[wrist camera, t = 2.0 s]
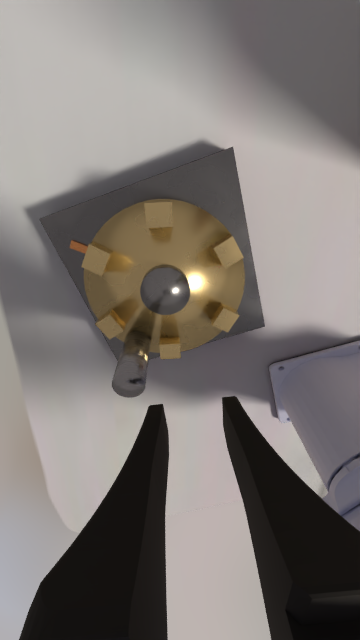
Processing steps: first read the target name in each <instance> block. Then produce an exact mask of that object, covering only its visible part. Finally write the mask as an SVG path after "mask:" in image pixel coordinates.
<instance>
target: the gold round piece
mask: <svg viewBox="0 0 360 640" xmlns="http://www.w3.org/2000/svg"><path fill="white" fill-rule="evenodd" d="M243 258H244V257H243V255H242V253H241V251H240V249H239V247H238V245H237V243H236V241H235V240H234V238H233V236H232V235H231V233H230V232H229V231H228V230H227V229H226V227H225V226H224V225H223V224H222V223H221V222H220V221H219V220H217V219H216V218H215V217H214V216H212V215H211V214H209V213H208V212H206V211H205V210H203V209H202V208H199V207H197V206H195V205H193V204H191V203H188V202H184V201H181V200H175V199H152V200H147V201H143V202H139V203H137V204H134V205H132V206H130V207H128V208H125V209H123V210H122V211H120V212H119V213H117V214H115V215H114V216H113V217H112V218H110V219H109V220H108V221H107V222H106V223H105V224H104V225H103V226H102V227H101V229H100V230H99V231H98V232H97V234H96V235H95V237H94V239H93V240H92V242H91V243H90V244H89V245H88V248H87V251H86V254H85V257H84V260H83V263H82V266H81V267H83V268H84V286H85V291H86V295H87V298H88V302H89V304H90V306H91V308H92V310H93V312H94V314H95V315H96V317H97V318H98V320H97V321H96V323H95V325H96V326H97V327H98V328H99V329H100V330H101V331H102V332H103V333H104V334H105V335H106V336H107V337H108V338H109V340H110V339H111V338H113V337H117V338H118V339H119V340H121V341H123V342H124V344H123V347H122V351H121V354H120V357H119V361H118V364H117V367H116V371H115V374H114V377H113V381H112V387H113V390H114V391H115V392H116V393H117V394H119V395H121V396H123V397H136V396H138V395H140V394H141V393H142V392H143V391H144V389H145V383H146V375H147V367H148V359H149V352H155V353H160V359H174V358H181V354H180V352H182V351H187V350H190V349H193V348H196V347H198V346H201V345H203V344H205V343H206V342H208V341H210V340H211V339H213V338H214V337H215V336H217V335H218V334H219V333H220V332H221V331H222V330H223V331H225V332H229V330H230V329H231V327H232V326H233V324H234V323H235V321H236V320H237V319H238V317H239V316H240V315H239V314H238V312H237V310H238V307H239V305H240V303H241V299H242V296H243V292H244V285H245V270H244V263H243Z"/></svg>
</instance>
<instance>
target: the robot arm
mask: <svg viewBox="0 0 360 640" xmlns="http://www.w3.org/2000/svg"><path fill="white" fill-rule="evenodd" d="M359 346H360V340H359V341H356V342H352V343H348V344H344V345H341V346H337V347H333V348H330V349H326V350H322V351H318V352H315V353H311V354H307V355H303V356H300V357H296V358H292V359H288V360H285V361H281V362H277V363H273V364H271V365H270V367H269V372H270V377H271V383H272V388H273V393H274V399H275V404H276V409H277V415H278V419H279V421H280V422H281V423H287V422H292V424H293V426H294V428H295V430H296V432H297V434H298V435H299V437H300V439H301V441H302V443H303V445H304V447H305V449H306V451H307V453H308V455H309V456H310V458H311V460H312V462H313V464H314V466H315V468H316V470H317V472H318V474H319V476H320V477H321V479H322V481H323V483H324V485H325V487H326V489H327V491H328V494H327V495H326V496H325V497H323V498H321V497H319V496H318V495H317V494H316V493H315V492H314V491H313V490H312V489H311V488H310V487H309V486H308V485H307V484H305V482H304V481H303V480H302V479H301V478H300V477H299V476H298V475H297V474H296V473H295V472H294V471H293V470H292V469H291V468H290V467H289V466H288V465H287V464H286V463H285V462H284V461H283V460H282V458H281V457H280V456H279V455H278V454H277V453H276V452H275V450H274V449H273V448H272V447H271V446H270V444H269V443H268V442H267V441H266V439H265V438H264V437H263V436H262V434H261V433H260V432H259V430H258V429H257V428H256V426H255V425H254V424H253V422H252V421H251V419H250V418H249V416H248V415H247V413H246V412H245V410H244V409H243V407H242V406H241V404H240V402H239V400H238V398H237V397H235V396H232V397H223V398H222V404H223V427H224V432H225V438H226V443H227V448H228V451H229V455H230V458H231V462H232V465H233V468H234V472H235V475H236V479H237V482H238V485H239V489H240V492H241V495H242V499H243V502H244V507H245V511H246V515H247V520H248V525H249V529H250V534H251V539H252V544H253V548H254V553H255V558H256V563H257V568H258V573H259V578H260V583H261V588H262V593H263V598H264V603H265V608H266V613H267V619H268V624H269V628H270V634H271V640H360V347H359ZM281 366H282V367H281ZM279 367H281V368H279ZM168 461H169V438H168V428H167V423H166V418H165V413H164V408H163V404H158V405H150V406H149V407H148V410H147V413H146V416H145V419H144V422H143V425H142V427H141V430H140V432H139V434H138V437H137V439H136V441H135V443H134V446H133V448H132V450H131V452H130V454H129V456H128V458H127V460H126V462H125V464H124V466H123V467H122V469H121V471H120V473H119V475H118V477H117V478H116V480H115V482H114V483H113V485H112V487H111V488H110V490H109V492H108V493H107V495H106V496H105V498H104V499H103V501H102V503H101V504H100V506H99V507H98V509H97V510H96V512H95V513H94V515H93V516H92V517H91V519H90V520H89V522H88V523H87V524H86V526H85V527H84V528H83V530H82V531H81V532H80V534H79V535H78V537H77V538H76V539H75V541H74V542H73V543H72V545H71V546H70V547H69V548H68V550H67V551H66V552H65V553H64V555H63V556H62V557H61V558H60V560H59V561H58V562H57V563H56V564H55V566H54V567H53V568H52V570H51V571H50V572H49V573H48V574H47V575H46V577H45V578H44V579H43V581H42V582H41V583H40V586H39V588H38V590H37V593H36V595H35V598H34V600H33V602H32V604H31V607H30V609H29V612H28V615H27V618H26V621H25V624H24V627H23V630H22V633H21V636H20V639H19V640H167V606H166V559H165V505H166V491H167V476H168Z"/></svg>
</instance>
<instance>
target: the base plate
mask: <svg viewBox="0 0 360 640" xmlns="http://www.w3.org/2000/svg"><path fill="white" fill-rule="evenodd" d="M152 199H175V200H181V201H184V202H188V203H191V204H193V205H195V206H197V207H199V208H202V209H203V210H205V211H206V212H208V213H209V214H211V215H212V216H214V217H215V218H216V219H217V220H219V221H220V222H221V223H222V224H223V225H224V226H225V227H226V229H227V230H228V231H229V232H230V233H231V235H232V236H233V238H234V240H235V241H236V243H237V245H238V247H239V249H240V251H241V253H242V255H243V257H244V258H243V263H244V270H245V285H244V292H243V296H242V299H241V303H240V305H239V307H238V310H237V312H238V314H239V315H240V316H239V317H238V319H237V320H236V321H235V323H234V324H233V326H232V327H231V329H230V330H229V332H225V331H223V330H222V331H221V332H220V333H219V334H218V335H217V336H215V337H214V338H213V339H211V340H210V341H208V342H206V343H209V342H212V341H216V340H219V339H223V338H226V337H230V336H233V335H237V334H240V333H244V332H247V331H251V330H254V329H258V328H261V327H265V324H264V319H263V313H262V307H261V302H260V296H259V291H258V285H257V279H256V274H255V268H254V262H253V257H252V251H251V246H250V240H249V234H248V229H247V223H246V217H245V212H244V206H243V201H242V195H241V189H240V184H239V178H238V172H237V167H236V161H235V156H234V150H233V147H231V148H228V149H226V150H223V151H220V152H218V153H215V154H212V155H209V156H207V157H204V158H201V159H199V160H196V161H193V162H191V163H188V164H185V165H183V166H180V167H177V168H175V169H172V170H169V171H167V172H164V173H161V174H159V175H156V176H153V177H151V178H148V179H145V180H142V181H140V182H137V183H134V184H132V185H129V186H126V187H124V188H121V189H118V190H116V191H113V192H110V193H108V194H105V195H102V196H100V197H97V198H94V199H92V200H89V201H86V202H83V203H81V204H78V205H75V206H73V207H70V208H67V209H65V210H62V211H59V212H57V213H54V214H51V215H49V216H46V217H43V218H41V219H40V221H41V223H42V225H43V227H44V228H45V230H46V232H47V234H48V236H49V238H50V239H51V241H52V243H53V245H54V247H55V248H56V250H57V252H58V254H59V256H60V257H61V259H62V261H63V263H64V265H65V266H66V268H67V270H68V272H69V274H70V276H71V277H72V279H73V281H74V283H75V285H76V286H77V288H78V290H79V292H80V294H81V295H82V297H83V299H84V301H85V303H86V304H87V306H88V308H89V310H90V312H91V313H92V315H93V317H94V319H95V321H97V320H98V318H97V317H96V315H95V314H94V312H93V310H92V308H91V306H90V304H89V302H88V298H87V295H86V291H85V286H84V268H83V267H81V266H82V263H83V260H84V257H85V254H86V251H87V248H88V245H89V244H90V243H91V242H92V240H93V239H94V237H95V235H96V234H97V232H98V231H99V230H100V229H101V227H102V226H103V225H104V224H105V223H106V222H107V221H108V220H109V219H110V218H112V217H113V216H114V215H115V214H117V213H119V212H120V211H122V210H123V209H125V208H128V207H130V206H132V205H134V204H137V203H139V202H143V201H147V200H152ZM101 332H102V331H101ZM102 333H103V332H102ZM103 335H104V337H105V339H106V341H107V342H108V344H109V346H110V348H111V350H112V351H113V353H114V355H115V357H116V359H117V361H119V357H120V354H121V351H122V347H123V344H124V342H123V341H121V340H119V339H118V338H117V337H113V338H111V339H110V340H109V338H108V337H107V336H106V335H105V334H104V333H103ZM159 356H160V353H155V352H149V359H152V358H156V357H159ZM149 359H148V360H149Z"/></svg>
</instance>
